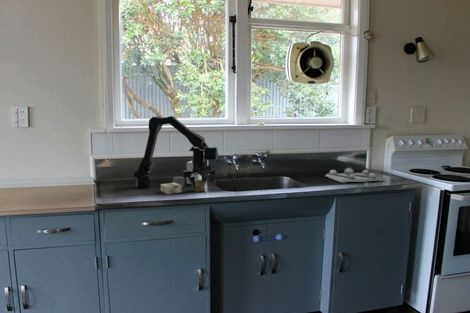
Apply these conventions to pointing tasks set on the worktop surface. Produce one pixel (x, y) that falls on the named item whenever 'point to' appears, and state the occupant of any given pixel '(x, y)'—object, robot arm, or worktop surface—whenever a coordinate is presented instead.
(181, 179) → the gray cube
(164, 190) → the birch block
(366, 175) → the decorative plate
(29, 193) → the worktop surface
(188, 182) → the supplement box
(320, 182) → the worktop surface
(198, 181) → the walnut cube
